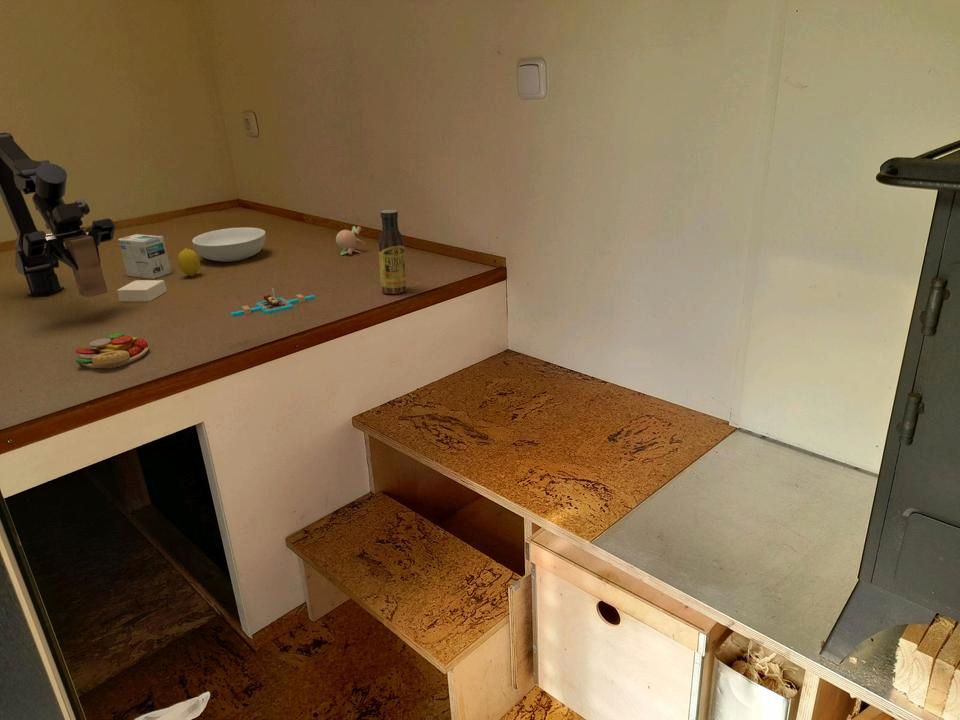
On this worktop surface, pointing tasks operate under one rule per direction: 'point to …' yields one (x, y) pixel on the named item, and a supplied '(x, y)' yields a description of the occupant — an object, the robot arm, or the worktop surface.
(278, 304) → the multicoloured piece
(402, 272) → the sauce bottle
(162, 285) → the cream plinth
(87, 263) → the walnut column
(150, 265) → the light bulb box
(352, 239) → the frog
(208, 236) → the serving bowl
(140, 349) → the toy food set
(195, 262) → the lemon
